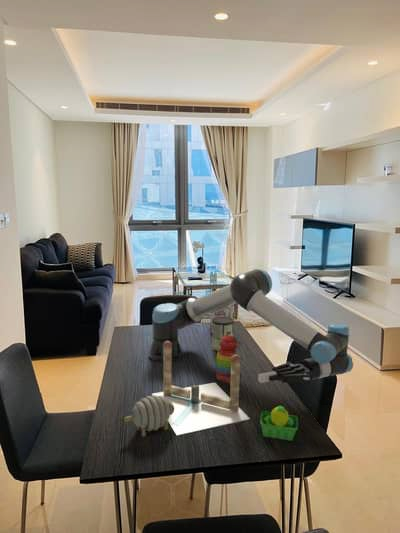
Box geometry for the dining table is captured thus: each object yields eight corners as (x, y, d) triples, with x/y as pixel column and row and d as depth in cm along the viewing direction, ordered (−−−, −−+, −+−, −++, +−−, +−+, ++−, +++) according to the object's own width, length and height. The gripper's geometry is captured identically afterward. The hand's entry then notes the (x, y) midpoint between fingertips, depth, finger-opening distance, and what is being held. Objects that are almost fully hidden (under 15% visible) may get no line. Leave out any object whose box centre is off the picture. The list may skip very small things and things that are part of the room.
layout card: (151, 394, 154) (151, 393, 154) (215, 383, 164) (215, 382, 163) (176, 435, 128) (176, 434, 128) (249, 419, 138) (249, 418, 138)
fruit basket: (296, 430, 133) (298, 397, 131) (296, 446, 124) (299, 412, 122) (261, 424, 135) (262, 393, 133) (258, 440, 127) (260, 406, 125)
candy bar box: (209, 333, 220) (210, 303, 217) (213, 330, 225) (214, 301, 221) (229, 336, 216) (230, 306, 212) (232, 333, 220) (233, 304, 217)
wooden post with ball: (161, 396, 153) (161, 341, 149) (165, 392, 156) (165, 338, 152) (196, 405, 147) (197, 348, 143) (200, 400, 150) (201, 345, 146)
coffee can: (218, 341, 208) (219, 315, 205) (236, 346, 202) (237, 318, 200) (207, 348, 199) (208, 320, 196) (226, 353, 194) (227, 324, 191)
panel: (199, 403, 146) (200, 349, 142) (203, 399, 149) (204, 346, 145) (236, 413, 140) (239, 357, 136) (240, 408, 143) (242, 353, 139)
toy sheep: (181, 429, 132) (182, 397, 130) (133, 447, 122) (133, 413, 120) (165, 414, 140) (165, 384, 138) (118, 430, 131) (118, 398, 129)
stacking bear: (238, 384, 163) (239, 341, 159) (213, 381, 165) (214, 339, 161) (241, 372, 173) (242, 332, 170) (217, 370, 175) (218, 330, 172)
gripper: (325, 385, 147) (269, 397, 138) (303, 370, 159) (250, 380, 150) (327, 365, 146) (270, 376, 137) (304, 352, 158) (250, 361, 149)
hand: (259, 378), depth 143 cm, fingers closed
